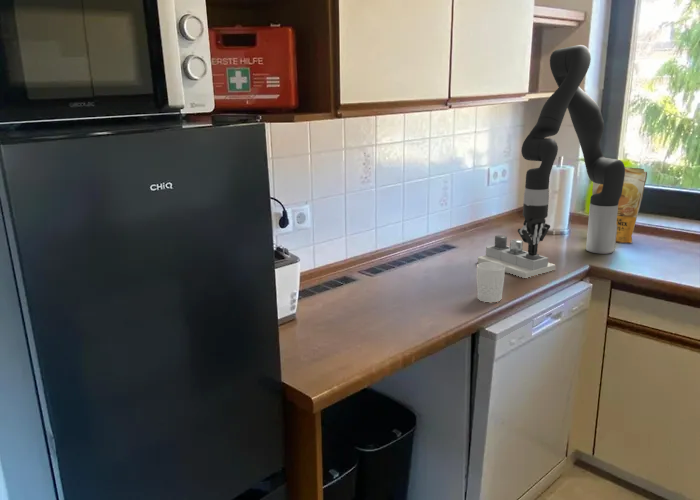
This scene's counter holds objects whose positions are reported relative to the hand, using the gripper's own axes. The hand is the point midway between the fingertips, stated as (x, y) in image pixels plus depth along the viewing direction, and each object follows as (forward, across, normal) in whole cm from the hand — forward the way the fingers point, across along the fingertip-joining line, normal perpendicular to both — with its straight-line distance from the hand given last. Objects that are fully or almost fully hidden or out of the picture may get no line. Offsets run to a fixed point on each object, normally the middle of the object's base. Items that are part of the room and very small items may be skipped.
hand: (532, 254), depth 186 cm
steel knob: (0, 0, -7) cm, 7 cm away
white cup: (+6, +29, +10) cm, 31 cm away
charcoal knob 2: (+3, 0, 0) cm, 4 cm away
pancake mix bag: (+6, -55, -9) cm, 56 cm away
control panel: (+6, 0, -7) cm, 9 cm away
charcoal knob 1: (0, 0, -14) cm, 14 cm away
